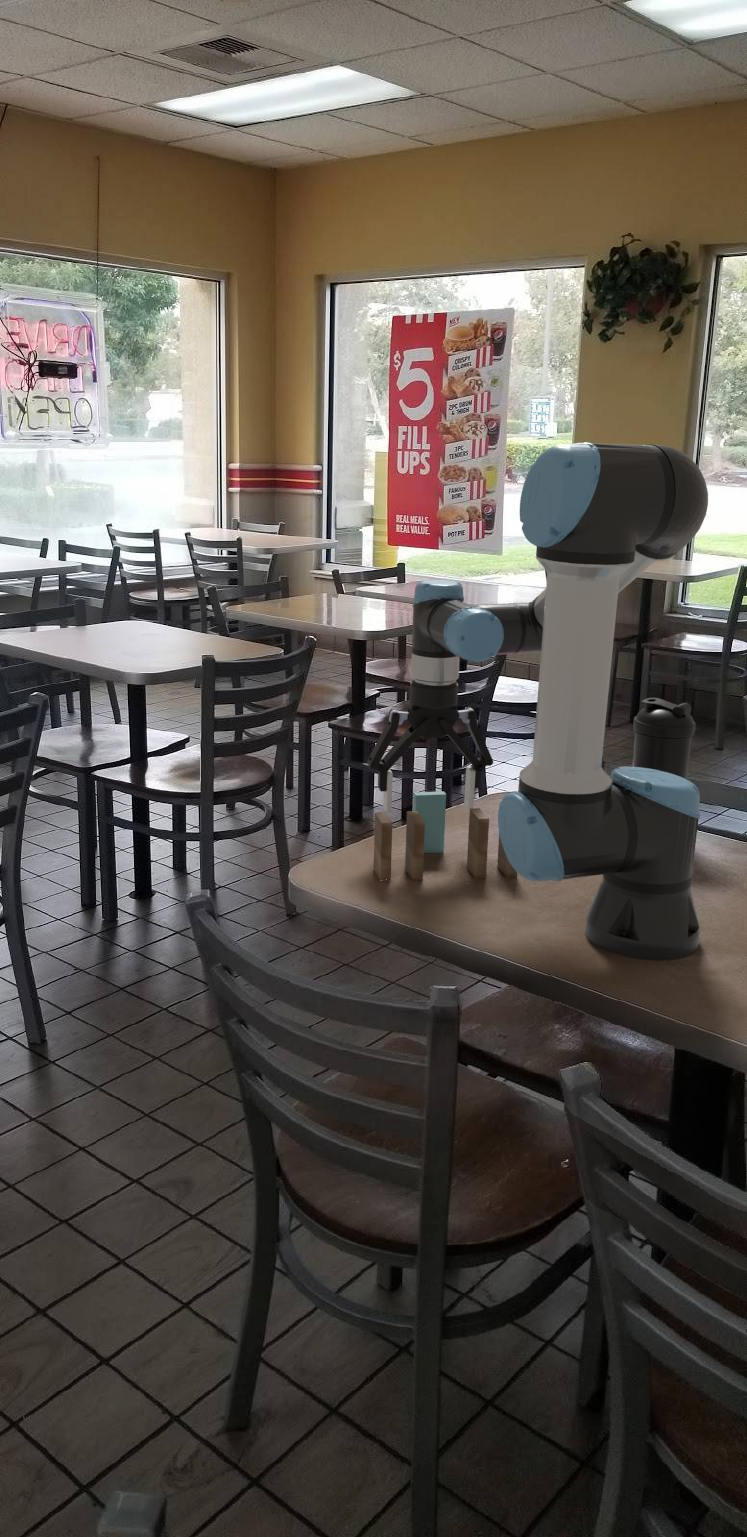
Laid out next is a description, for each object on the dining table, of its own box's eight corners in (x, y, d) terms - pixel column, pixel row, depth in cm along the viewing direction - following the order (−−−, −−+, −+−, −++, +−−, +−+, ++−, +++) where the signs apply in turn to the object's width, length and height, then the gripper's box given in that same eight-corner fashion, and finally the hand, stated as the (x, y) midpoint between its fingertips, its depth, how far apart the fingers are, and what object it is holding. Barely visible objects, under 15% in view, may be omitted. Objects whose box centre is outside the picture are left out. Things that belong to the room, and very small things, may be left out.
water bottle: (638, 817, 216) (649, 692, 210) (693, 829, 211) (706, 701, 204) (614, 831, 208) (625, 702, 202) (670, 844, 203) (683, 711, 196)
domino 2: (414, 871, 188) (417, 810, 185) (422, 883, 183) (425, 821, 180) (404, 872, 187) (406, 811, 184) (412, 884, 183) (414, 821, 180)
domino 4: (476, 868, 190) (479, 808, 187) (485, 880, 185) (489, 818, 182) (466, 869, 189) (469, 808, 186) (475, 880, 185) (479, 818, 182)
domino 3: (443, 852, 196) (446, 794, 193) (413, 854, 195) (415, 795, 192) (441, 849, 198) (443, 791, 195) (411, 850, 197) (413, 792, 194)
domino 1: (383, 873, 187) (385, 812, 184) (390, 885, 182) (392, 822, 179) (373, 874, 186) (374, 812, 183) (380, 886, 182) (381, 823, 179)
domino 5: (506, 867, 191) (510, 807, 188) (516, 878, 186) (520, 817, 183) (497, 867, 190) (500, 807, 187) (506, 879, 186) (510, 817, 183)
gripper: (503, 673, 194) (495, 798, 201) (351, 675, 189) (348, 803, 196) (517, 684, 187) (509, 812, 194) (360, 686, 182) (357, 818, 189)
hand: (428, 808), depth 195 cm, fingers open, 13 cm apart
